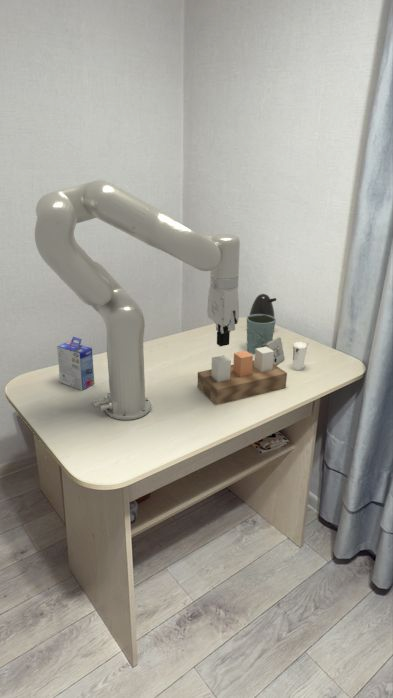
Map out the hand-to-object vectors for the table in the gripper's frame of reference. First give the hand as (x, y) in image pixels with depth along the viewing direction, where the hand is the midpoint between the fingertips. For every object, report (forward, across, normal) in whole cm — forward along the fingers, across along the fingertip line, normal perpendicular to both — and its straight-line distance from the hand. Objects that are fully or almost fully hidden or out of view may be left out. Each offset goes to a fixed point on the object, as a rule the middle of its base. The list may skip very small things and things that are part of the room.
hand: (222, 344), depth 133 cm
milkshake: (+16, -3, +31) cm, 35 cm away
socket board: (+15, 0, +7) cm, 17 cm away
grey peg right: (+11, 0, +14) cm, 18 cm away
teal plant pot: (+16, -22, +28) cm, 39 cm away
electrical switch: (+16, -11, +26) cm, 32 cm away
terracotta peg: (+11, 0, +7) cm, 13 cm away
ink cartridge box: (+15, -24, -37) cm, 47 cm away
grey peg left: (+11, 0, -1) cm, 11 cm away
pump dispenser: (+16, -37, +39) cm, 56 cm away
